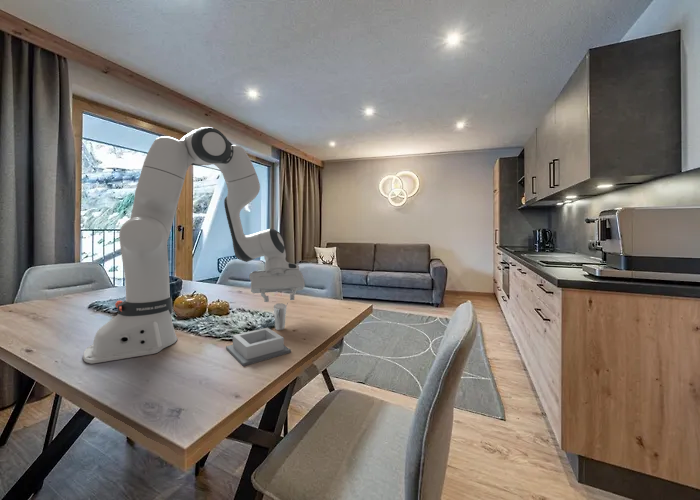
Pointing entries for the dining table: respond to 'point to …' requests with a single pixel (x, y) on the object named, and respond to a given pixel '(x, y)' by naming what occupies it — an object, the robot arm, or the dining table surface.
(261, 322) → the dining table surface
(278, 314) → the milkshake
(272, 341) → the sleeve housing
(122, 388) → the dining table surface
